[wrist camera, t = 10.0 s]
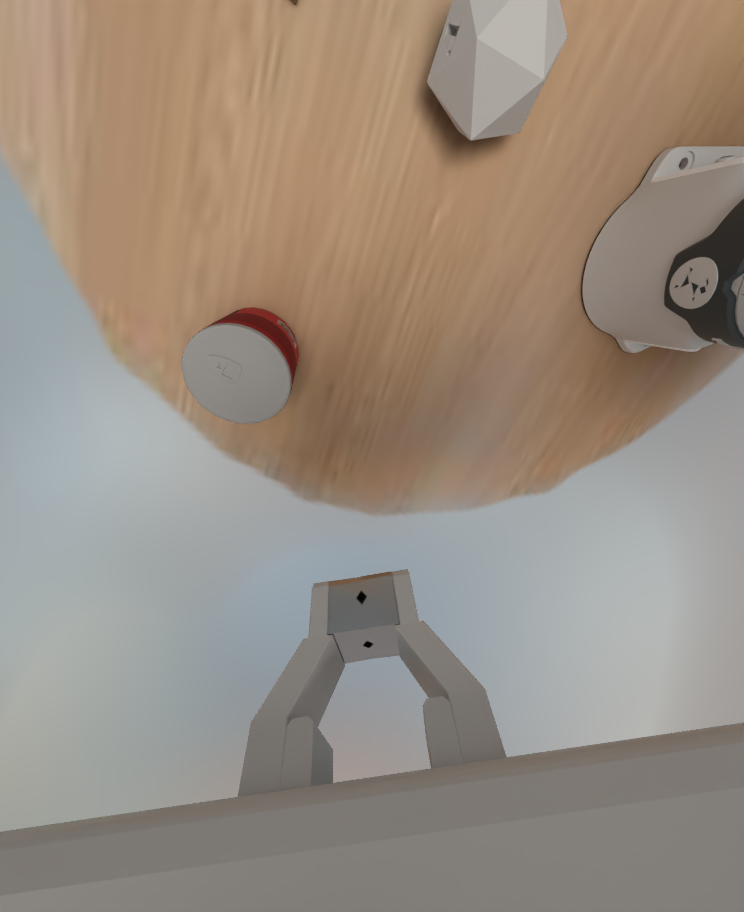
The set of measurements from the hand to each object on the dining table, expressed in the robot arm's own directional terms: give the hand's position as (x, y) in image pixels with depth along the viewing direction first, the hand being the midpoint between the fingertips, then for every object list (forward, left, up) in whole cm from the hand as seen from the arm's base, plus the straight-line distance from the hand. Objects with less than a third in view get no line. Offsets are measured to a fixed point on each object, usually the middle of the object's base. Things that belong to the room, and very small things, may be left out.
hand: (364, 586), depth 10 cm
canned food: (+7, -3, -30) cm, 31 cm away
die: (-17, -18, -30) cm, 39 cm away
